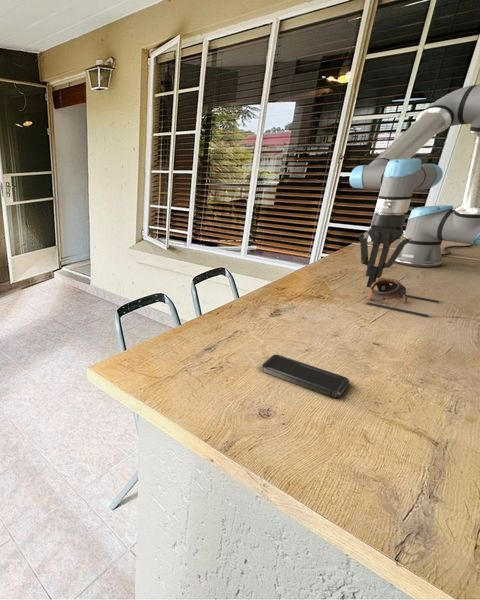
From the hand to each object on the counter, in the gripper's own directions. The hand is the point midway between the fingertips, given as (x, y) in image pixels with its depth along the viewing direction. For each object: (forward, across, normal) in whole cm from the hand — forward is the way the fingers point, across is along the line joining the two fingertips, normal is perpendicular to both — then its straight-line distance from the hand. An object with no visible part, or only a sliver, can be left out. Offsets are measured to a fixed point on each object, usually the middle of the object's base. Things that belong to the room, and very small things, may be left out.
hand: (370, 286), depth 114 cm
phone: (+4, +5, -64) cm, 64 cm away
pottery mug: (+4, +5, 0) cm, 6 cm away
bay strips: (+3, +9, 0) cm, 9 cm away
